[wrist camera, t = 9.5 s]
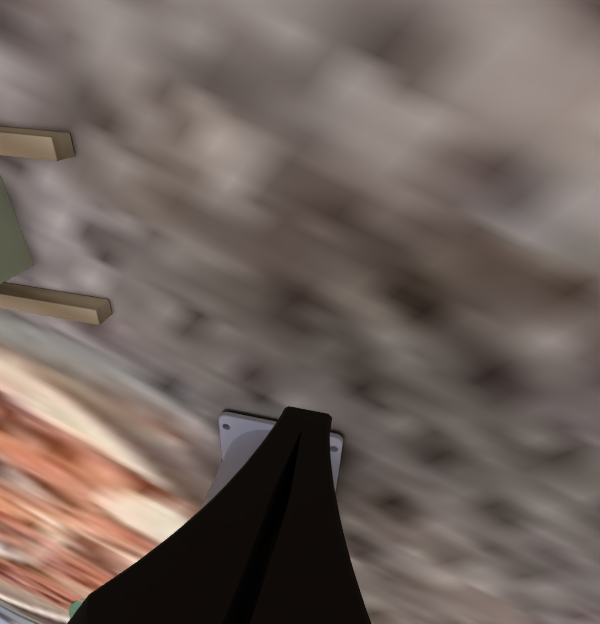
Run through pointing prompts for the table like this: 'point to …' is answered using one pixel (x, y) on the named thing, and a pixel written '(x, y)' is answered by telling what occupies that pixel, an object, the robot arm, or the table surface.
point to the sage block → (11, 241)
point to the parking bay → (38, 299)
